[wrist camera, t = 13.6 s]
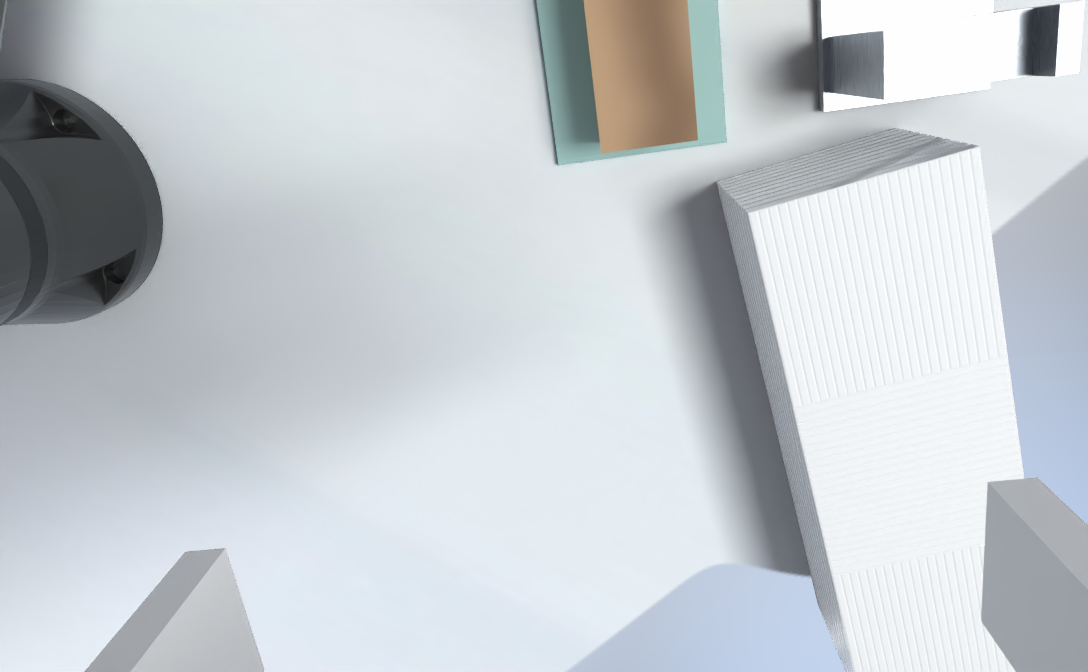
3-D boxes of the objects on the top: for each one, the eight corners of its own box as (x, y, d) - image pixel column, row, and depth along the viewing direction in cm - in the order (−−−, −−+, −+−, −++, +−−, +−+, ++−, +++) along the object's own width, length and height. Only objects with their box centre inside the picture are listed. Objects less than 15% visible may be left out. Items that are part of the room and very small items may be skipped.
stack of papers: (968, 572, 55) (1052, 686, 45) (817, 603, 57) (865, 720, 47) (894, 127, 46) (980, 146, 36) (715, 181, 47) (748, 213, 37)
